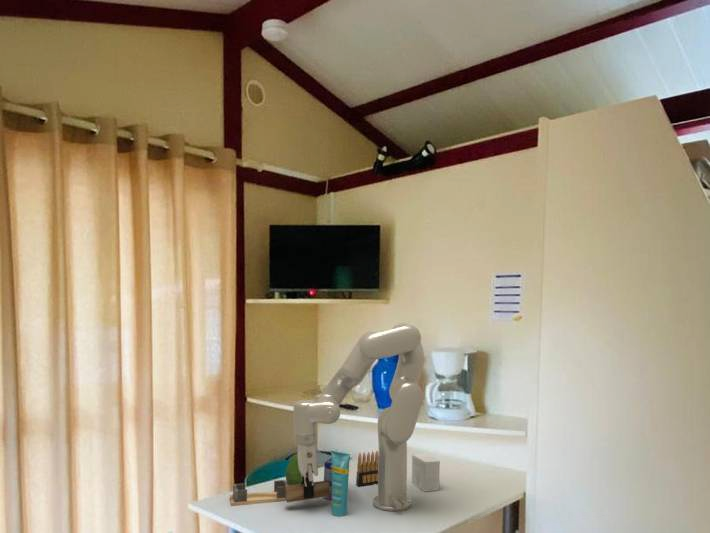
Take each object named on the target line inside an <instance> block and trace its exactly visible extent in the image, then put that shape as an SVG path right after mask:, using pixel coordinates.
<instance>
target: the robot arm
mask: <svg viewBox="0 0 710 533" xmlns="http://www.w3.org/2000/svg"><path fill="white" fill-rule="evenodd" d="M421 341H422V336H421V332H420V330H419V328H417V327H415V326H414V325H412V324H408V323H402V322H401V323H397V324H395V325H394V326H393V327H392V329H387V330H384V331H379V332H375V331H367V332H365V333H363V334H362V335H361V336H360V338H359V339H358V341H357V342H356V343H355V345H354V346H353V348H352V349H351V351H350V353H349V354H348V356H347V357H346V359H345V360H344V362H343V363H342V365H341V366H340V368H339V369H338V370H337V372H336V373H335V374H334V376H332V378H331V379H330V380H329V382H328V383H327V384H326V387H325V388H324V390H323V391H322V392H321V394H320V395H319V397H318V399H317V402H316V401H315V400H314V399H313V400H312V399H300V400H297V401H295V402H294V403H293V434H294V435H293V437H294V442H293V443H294V445H295V446H297V454H298V469H299V471H300V473H301V484H304V485H305V486H304V499H308V498H313V497H314V485H313V482H314V476H316V477H317V476H318V475H319V472H318V471H319V468H318V456H317V447H316V445H317V444H318V424H323V425H331V424H334V423H336V422H337V421H338V420H339V418H340V416H341V407H340V405H341V404H342V402H343V400H344V399H345V398H346V397H347V395H348V394H349V392H350V391H351V390H352V389H353V388H355V387H357V386H358V385H360V384H361V383H362V382H363V381H364V379H365V377H366V376H367V375H368V373H369V371H370V370H371V368H372V366H374V363H375V362H376V361H377V360H380V359H386V358H391V357H395V356H398V359H397V365H396V369H395V371H394V375H393V377H392V378H393V379H392V381H391V383H390V386H389V390H388V392H389V393H388V394H389V397H390V399H391V404H390V406H389V407H386V408H384V409H383V410H382V411H381V412H380V413H379V415H378V417H377V418H378V419H377V435H378V436H377V437H378V439H377V440H378V484H377V495H376V496H375V497H373V499H372V505H373V506H374V507H375V508H377V509H381V510H383V511H388V512H389V511H390V512H399V511H405V510H407V509H409V508H410V507H411V506H412V500H411V499H410V498H409V497H408V496H407V480H408V478H407V475H408V474H407V472H408V471H407V470H408V469H407V468H408V467H407V466H408V460H407V459H408V444H407V442H408V441H409V440H410V439H411V437H412V436H413V433H414V432H415V428H416V425H417V422H418V418H419V416H420V415H419V414H420V412H421V408H422V405H423V398H424V396H423V395H424V394H423V390H422V388H421V386H420V384H419V382H420V379H421V375H422V372H423V366H424V361H425V358H424V357H425V354H424V353H425V352H424V349H423V348H424V347H423V345H422V342H421ZM308 500H309V499H308Z"/></svg>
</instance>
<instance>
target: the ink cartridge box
mask: <svg viewBox="0 0 710 533" xmlns="http://www.w3.org/2000/svg"><path fill="white" fill-rule="evenodd" d="M340 453H343V451H340ZM323 466H324V468H323V469H324V470H323V481H326V480H327V481H328V483H329V491H330V496H328V497H322V498H324V499H328V500H332V461H331V458H328V459H327V460H326V461H324V465H323Z"/></svg>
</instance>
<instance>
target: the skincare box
mask: <svg viewBox="0 0 710 533" xmlns="http://www.w3.org/2000/svg"><path fill="white" fill-rule="evenodd" d="M411 458H412V460H411V484H412V485H415V487H417V488H418V489H420V490H421V491H422V492H424V493H425V492H435V491H436V492H437V491H440V472H441V470H440V468H441V466H440V464H441V462H440V460H439V459H437V458H435V457H433V456H432V455H430V454H428V453H415V454H412V455H411Z"/></svg>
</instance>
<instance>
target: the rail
mask: <svg viewBox="0 0 710 533" xmlns="http://www.w3.org/2000/svg"><path fill="white" fill-rule="evenodd" d="M273 484H274V485H273V491H272V490H270V491H261V492H260V491H259V492H250V493H248V489H246V483H244V482H243V483H234V484H232V494H230V495H229V501H230V506H233V505H234V506H244V505H243V504H245V505H253V503H254V504H263V503H274V502H275V503H276V502H283V501H285V502H287V501H286V499H285V486H289V485H288V483H287V481H286V479H281V480H274V482H273ZM234 506H233V507H234Z"/></svg>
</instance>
